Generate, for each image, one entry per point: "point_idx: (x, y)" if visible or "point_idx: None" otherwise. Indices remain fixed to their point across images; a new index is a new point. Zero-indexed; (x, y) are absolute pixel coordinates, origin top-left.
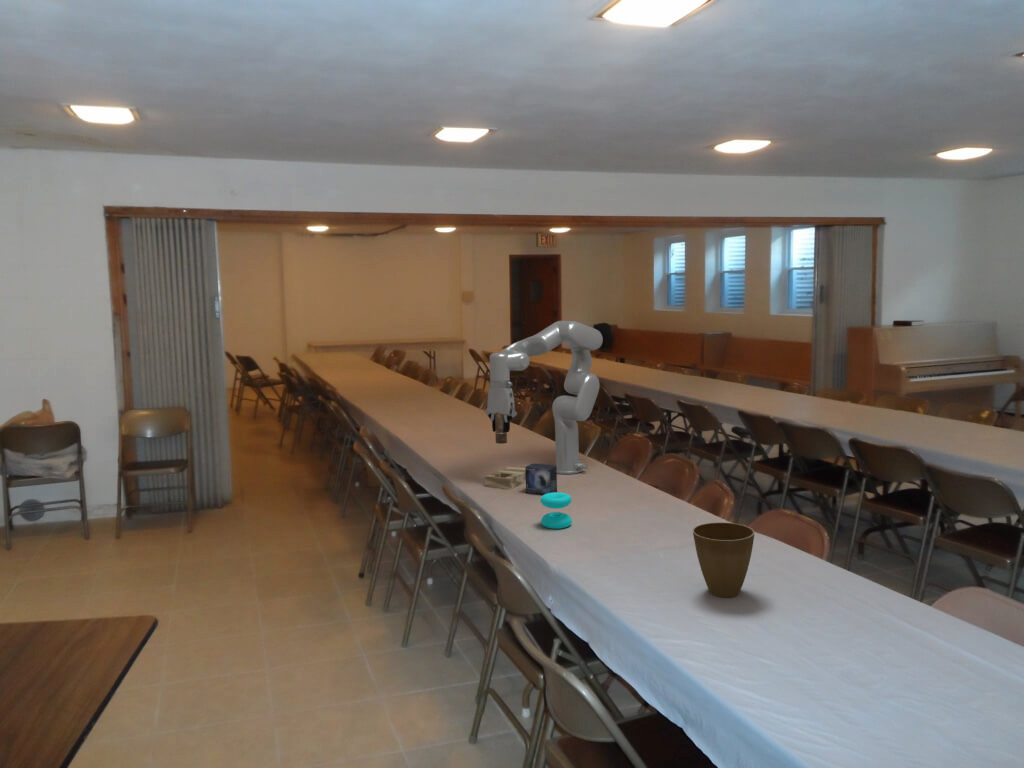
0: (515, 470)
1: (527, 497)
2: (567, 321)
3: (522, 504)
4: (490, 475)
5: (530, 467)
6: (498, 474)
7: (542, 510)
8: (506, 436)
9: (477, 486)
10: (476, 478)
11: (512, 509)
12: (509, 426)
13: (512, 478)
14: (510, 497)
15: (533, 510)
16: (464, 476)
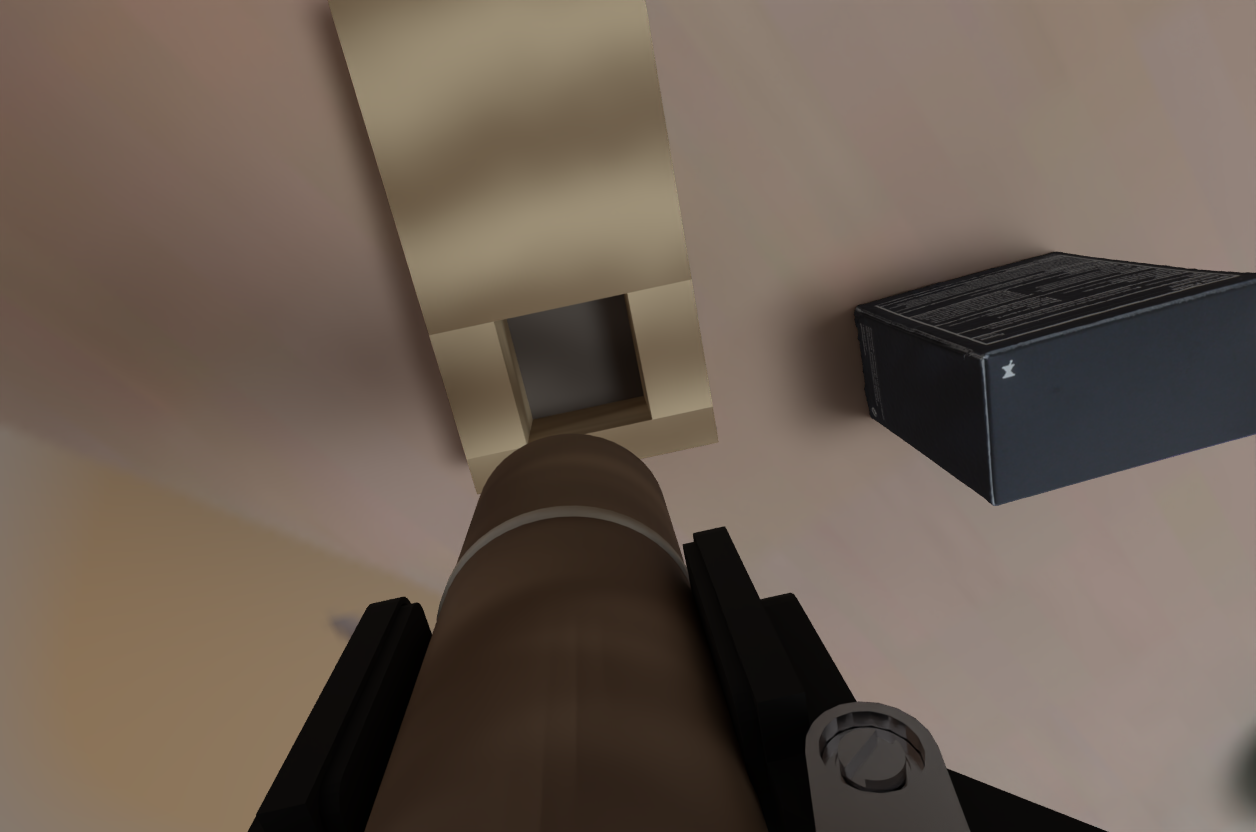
0: (527, 143)
1: (936, 484)
2: None
3: (995, 608)
4: (485, 441)
5: (1050, 490)
6: (504, 361)
7: (1159, 622)
8: (675, 537)
9: (437, 492)
10: (207, 319)
11: (997, 703)
12: (819, 650)
13: (708, 388)
14: (838, 549)
15: (1113, 650)
16: (60, 332)
